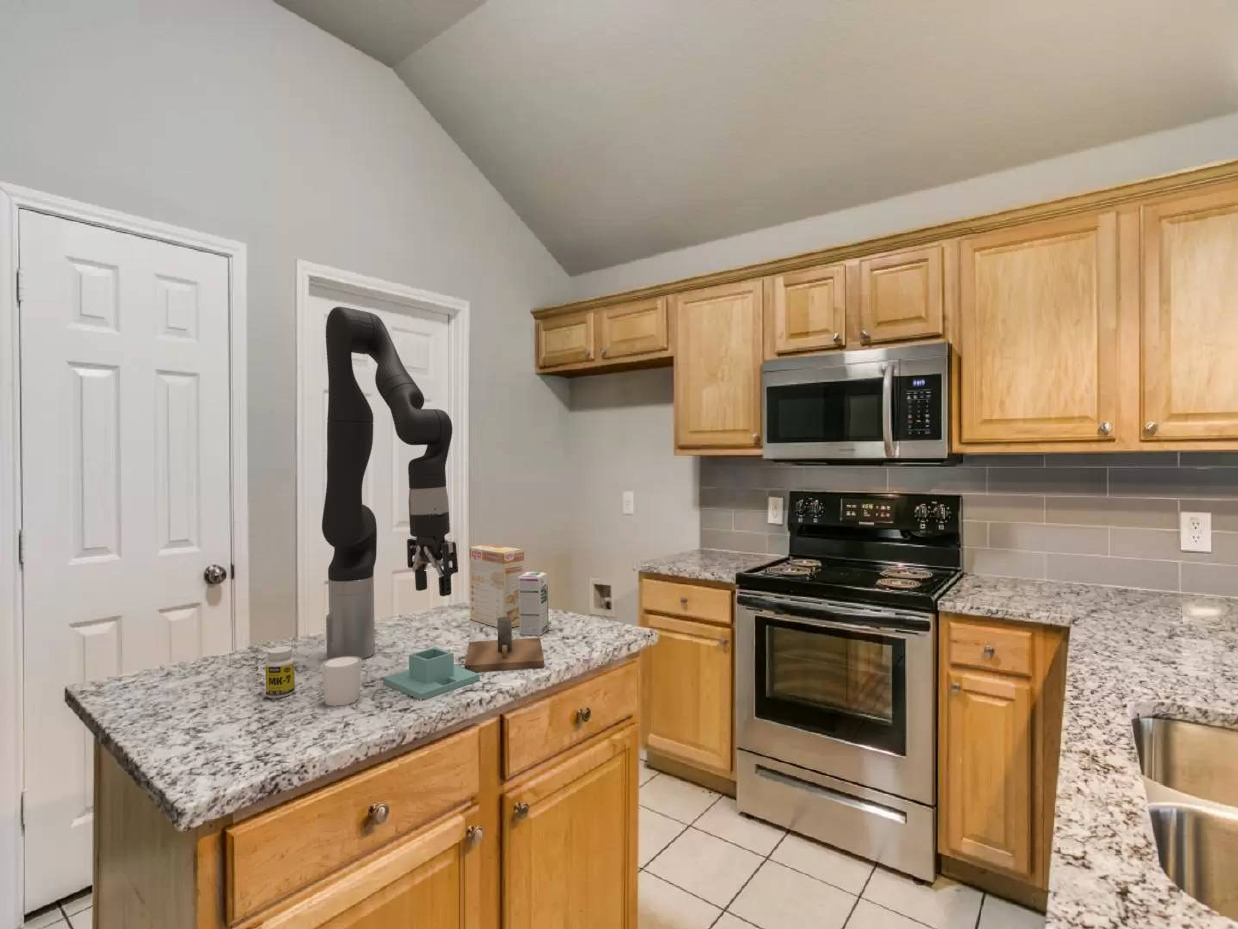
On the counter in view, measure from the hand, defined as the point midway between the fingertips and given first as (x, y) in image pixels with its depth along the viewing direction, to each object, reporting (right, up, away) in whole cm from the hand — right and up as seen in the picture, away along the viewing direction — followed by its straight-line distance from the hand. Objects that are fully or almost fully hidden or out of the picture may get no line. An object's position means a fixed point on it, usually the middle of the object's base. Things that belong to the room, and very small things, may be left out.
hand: (433, 592), depth 127 cm
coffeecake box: (+5, -16, +41) cm, 44 cm away
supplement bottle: (-26, -18, -7) cm, 32 cm away
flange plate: (0, -17, -2) cm, 17 cm away
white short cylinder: (-14, -18, -10) cm, 24 cm away
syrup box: (+16, -16, +32) cm, 39 cm away
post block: (+12, -17, +13) cm, 24 cm away
